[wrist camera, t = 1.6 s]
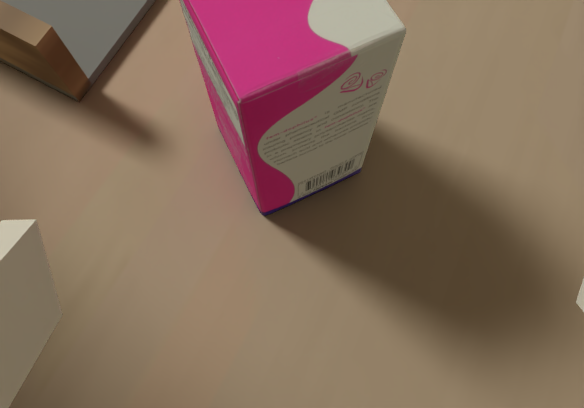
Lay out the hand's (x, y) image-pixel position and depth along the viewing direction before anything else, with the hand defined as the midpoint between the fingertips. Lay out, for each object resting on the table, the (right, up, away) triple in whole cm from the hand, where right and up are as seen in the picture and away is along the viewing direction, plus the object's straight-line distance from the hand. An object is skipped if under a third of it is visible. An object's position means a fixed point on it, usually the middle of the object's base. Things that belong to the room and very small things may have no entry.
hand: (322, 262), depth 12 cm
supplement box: (-1, +4, +15) cm, 15 cm away
